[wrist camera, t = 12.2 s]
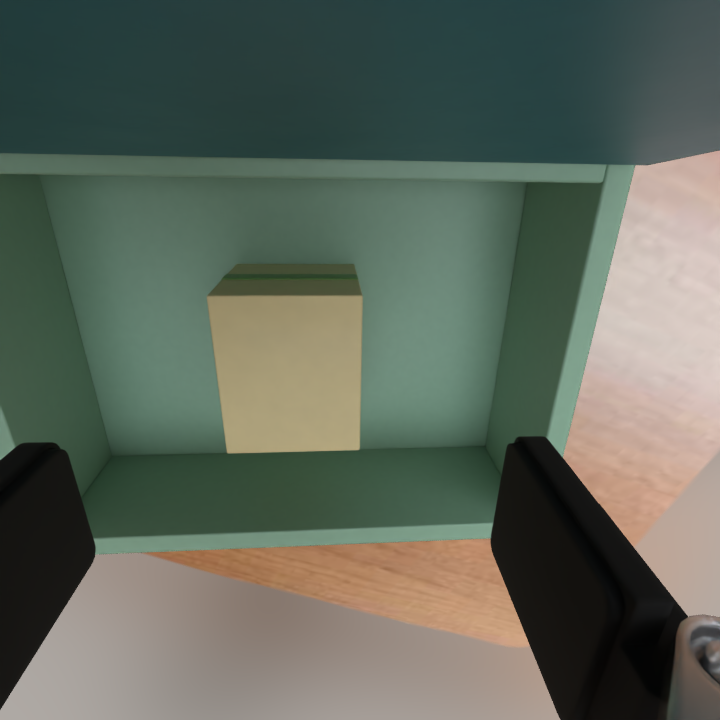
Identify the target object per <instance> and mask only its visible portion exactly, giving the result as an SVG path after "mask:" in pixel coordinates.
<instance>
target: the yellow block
mask: <svg viewBox="0 0 720 720" xmlns="http://www.w3.org/2000/svg"><path fill="white" fill-rule="evenodd" d="M207 304H208V312H209V320H210V327H211V335H212V343H213V350H214V358H215V366H216V373H217V381H218V389H219V397H220V404H221V412H222V420H223V427H224V435H225V443H226V450H227V453H266V452H305V451H343V450H359V449H360V419H361V367H362V315H363V295H362V292H361V288H360V284H359V279H358V276H357V273H356V269H355V265H354V264H236V265H235V266H234V267H233V268H232V269H231V271H230V272H229V273H228V274H226V275H225V276H224V277H223V278H222V280H221V281H220V282H219V283H218V284H217V286H216V287H215V288H214V289H213V290H212V291H211V292H210V293H209V294H208V295H207Z"/></svg>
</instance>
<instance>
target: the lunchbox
mask: <svg viewBox="0 0 720 720" xmlns="http://www.w3.org/2000/svg"><path fill="white" fill-rule="evenodd" d="M634 168H635V165H607V164H554V163H500V162H447V161H393V160H340V159H286V158H233V157H179V156H126V155H72V154H19V153H0V460H1V459H2V458H3V457H5V456H6V455H7V454H8V453H9V452H10V451H12V450H13V449H14V448H15V447H16V446H18V445H19V444H21V443H27V442H53V443H56V444H57V445H58V446H59V447H60V449H63V450H65V451H66V452H67V453H68V455H69V459H70V462H71V465H72V469H73V472H74V475H75V479H76V482H77V485H78V489H79V492H80V495H81V499H82V502H83V505H84V509H85V512H86V515H87V519H88V522H89V525H90V529H91V532H92V535H93V539H94V542H95V547H96V552H95V554H118V553H142V552H167V551H191V550H216V549H240V548H265V547H290V546H314V545H339V544H363V543H388V542H412V541H437V540H462V539H486V538H491V532H492V526H493V521H494V515H495V509H496V504H497V498H498V492H499V487H500V481H501V475H502V470H503V464H504V458H505V453H506V448H507V445H508V444H509V443H514V441H515V439H516V438H517V437H519V436H544V437H546V438H547V439H548V440H549V441H550V442H551V444H552V445H553V446H554V447H555V449H556V450H557V451H558V452H559V454H560V455H561V456H562V458H563V454H564V450H565V446H566V442H567V438H568V434H569V430H570V426H571V422H572V418H573V414H574V410H575V406H576V402H577V398H578V394H579V390H580V386H581V382H582V378H583V374H584V370H585V366H586V362H587V358H588V354H589V349H590V345H591V341H592V337H593V333H594V329H595V325H596V321H597V317H598V313H599V309H600V305H601V301H602V297H603V293H604V289H605V285H606V281H607V277H608V273H609V269H610V265H611V261H612V257H613V253H614V249H615V245H616V241H617V237H618V233H619V229H620V225H621V221H622V216H623V212H624V208H625V204H626V200H627V196H628V192H629V188H630V184H631V180H632V176H633V172H634ZM236 264H354V265H355V269H356V273H357V276H358V279H359V284H360V288H361V292H362V295H363V315H362V367H361V419H360V449H359V450H343V451H305V452H266V453H227V450H226V443H225V435H224V427H223V420H222V412H221V404H220V397H219V389H218V381H217V373H216V366H215V358H214V350H213V343H212V335H211V327H210V320H209V312H208V304H207V295H208V294H209V293H210V292H211V291H212V290H213V289H214V288H215V287H216V286H217V284H218V283H219V282H220V281H221V280H222V278H223V277H224V276H225V275H226V274H228V273H229V272H230V271H231V269H232V268H233V267H234V266H235V265H236Z"/></svg>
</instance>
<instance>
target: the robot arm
mask: <svg viewBox="0 0 720 720" xmlns="http://www.w3.org/2000/svg"><path fill="white" fill-rule="evenodd" d="M491 548H492V552H493V555H494V558H495V560H496V563H497V565H498V567H499V570H500V572H501V575H502V577H503V580H504V582H505V585H506V587H507V590H508V592H509V595H510V597H511V600H512V602H513V605H514V607H515V610H516V612H517V614H518V617H519V619H520V622H521V624H522V627H523V629H524V632H525V634H526V637H527V639H528V642H529V644H530V647H531V649H532V652H533V654H534V656H535V659H536V661H537V664H538V666H539V669H540V671H541V674H542V676H543V679H544V681H545V684H546V686H547V689H548V691H549V694H550V696H551V699H552V701H553V703H554V706H555V708H556V711H557V713H558V715H559V718H560V719H561V720H720V617H715V616H709V615H695V616H689V617H688V616H687V615H686V614H685V612H684V611H683V610H682V608H681V607H680V606H679V605H678V604H677V602H676V601H675V600H674V598H673V597H672V596H671V594H670V593H669V592H668V591H667V590H666V588H665V587H664V586H663V584H662V583H661V582H660V580H659V579H658V578H657V577H656V575H655V574H654V573H653V571H651V569H650V568H649V566H648V565H647V564H646V563H645V561H644V560H643V559H642V558H641V556H640V555H639V554H638V553H637V551H636V550H635V549H634V547H633V546H632V545H631V543H630V542H629V541H628V540H627V538H626V537H625V536H624V535H623V533H622V532H621V531H620V529H619V528H618V527H617V526H616V524H615V523H614V522H613V521H612V519H611V518H610V517H609V515H608V514H607V513H606V512H605V510H604V509H603V508H602V507H601V505H600V504H599V503H598V502H597V501H596V500H595V498H594V497H593V496H592V495H591V493H590V492H589V491H588V490H587V488H586V487H585V486H584V484H583V483H582V482H581V481H580V479H579V478H578V477H577V475H576V474H575V473H574V472H573V470H572V469H571V468H570V467H569V465H568V464H567V463H566V461H565V460H564V459H563V458H562V456H561V455H560V454H559V452H558V451H557V450H556V449H555V447H554V446H553V445H552V444H551V442H550V441H549V440H548V439H547V438H546V437H544V436H519V437H517V438H516V439H515V441H514V443H509V444H508V445H507V448H506V453H505V458H504V464H503V470H502V475H501V481H500V487H499V492H498V498H497V504H496V509H495V515H494V521H493V526H492V532H491ZM95 552H96V547H95V542H94V539H93V535H92V532H91V529H90V525H89V522H88V519H87V515H86V512H85V509H84V505H83V502H82V499H81V495H80V492H79V489H78V485H77V482H76V479H75V475H74V472H73V469H72V465H71V462H70V459H69V455H68V453H67V452H66V451H65V450H63V449H60V447H59V446H58V445H57V444H56V443H53V442H27V443H21V444H19V445H18V446H16V447H15V448H14V449H13V450H12V451H10V452H9V453H8V454H7V455H6V456H5V457H3V458H2V459H1V460H0V709H1V708H2V706H3V705H4V703H5V701H6V700H7V698H8V696H9V695H10V693H11V692H12V690H13V689H14V687H15V685H16V684H17V682H18V681H19V679H20V677H21V676H22V674H23V673H24V671H25V669H26V668H27V666H28V665H29V663H30V662H31V660H32V658H33V657H34V655H35V654H36V652H37V650H38V649H39V647H40V646H41V644H42V642H43V641H44V639H45V638H46V636H47V635H48V633H49V631H50V630H51V628H52V627H53V625H54V623H55V622H56V620H57V619H58V617H59V615H60V614H61V612H62V611H63V609H64V607H65V606H66V604H67V603H68V601H69V600H70V598H71V596H72V595H73V593H74V592H75V590H76V588H77V587H78V585H79V584H80V582H81V580H82V579H83V577H84V576H85V574H86V572H87V571H88V569H89V568H90V566H91V564H92V562H93V560H94V557H95Z"/></svg>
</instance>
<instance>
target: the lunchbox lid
mask: <svg viewBox="0 0 720 720" xmlns="http://www.w3.org/2000/svg"><path fill="white" fill-rule="evenodd" d="M719 150H720V0H0V153H19V154H72V155H126V156H179V157H233V158H286V159H340V160H393V161H447V162H500V163H554V164H607V165H651V164H656V163H661V162H666V161H670V160H675V159H680V158H685V157H690V156H695V155H699V154H704V153H709V152H714V151H719Z"/></svg>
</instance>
